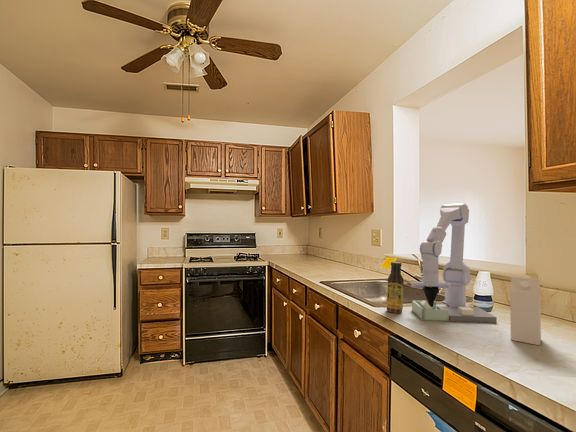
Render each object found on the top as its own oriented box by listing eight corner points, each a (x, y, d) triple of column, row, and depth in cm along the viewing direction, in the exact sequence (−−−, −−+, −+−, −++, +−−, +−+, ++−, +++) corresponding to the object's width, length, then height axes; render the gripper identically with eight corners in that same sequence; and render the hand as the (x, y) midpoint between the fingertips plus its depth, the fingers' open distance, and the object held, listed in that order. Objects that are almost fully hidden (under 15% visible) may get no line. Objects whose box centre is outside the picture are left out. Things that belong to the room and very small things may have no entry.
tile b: (458, 312, 124) (457, 306, 124) (469, 312, 124) (469, 307, 124) (462, 315, 120) (462, 309, 120) (474, 315, 120) (473, 309, 120)
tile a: (430, 308, 131) (426, 310, 132) (424, 299, 132) (420, 302, 132) (433, 310, 127) (429, 313, 128) (427, 302, 128) (422, 305, 128)
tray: (412, 310, 134) (412, 300, 134) (435, 311, 133) (435, 301, 133) (422, 320, 120) (422, 309, 120) (448, 321, 119) (448, 310, 119)
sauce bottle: (385, 312, 131) (385, 262, 131) (388, 308, 136) (388, 260, 136) (402, 314, 128) (402, 263, 128) (404, 310, 133) (404, 261, 133)
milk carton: (513, 334, 106) (512, 275, 106) (540, 339, 101) (540, 277, 101) (510, 340, 100) (510, 277, 100) (540, 346, 96) (539, 280, 96)
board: (436, 311, 133) (436, 306, 133) (478, 312, 131) (478, 307, 131) (449, 321, 119) (449, 315, 119) (496, 322, 117) (496, 317, 117)
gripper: (414, 272, 127) (414, 308, 126) (453, 273, 125) (453, 309, 125) (409, 270, 134) (409, 303, 133) (446, 270, 132) (446, 304, 132)
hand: (430, 306), depth 129 cm, fingers closed
